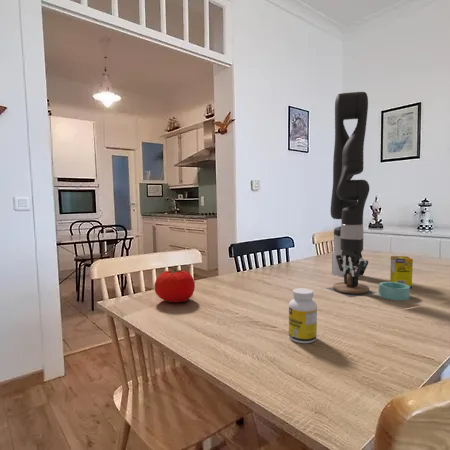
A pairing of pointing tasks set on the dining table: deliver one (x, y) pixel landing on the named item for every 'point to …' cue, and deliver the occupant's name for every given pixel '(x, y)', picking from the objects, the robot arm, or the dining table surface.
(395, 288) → the bowl
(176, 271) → the tomato
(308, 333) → the pill bottle
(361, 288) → the lid
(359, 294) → the mat
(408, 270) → the supplement box
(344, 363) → the dining table surface
